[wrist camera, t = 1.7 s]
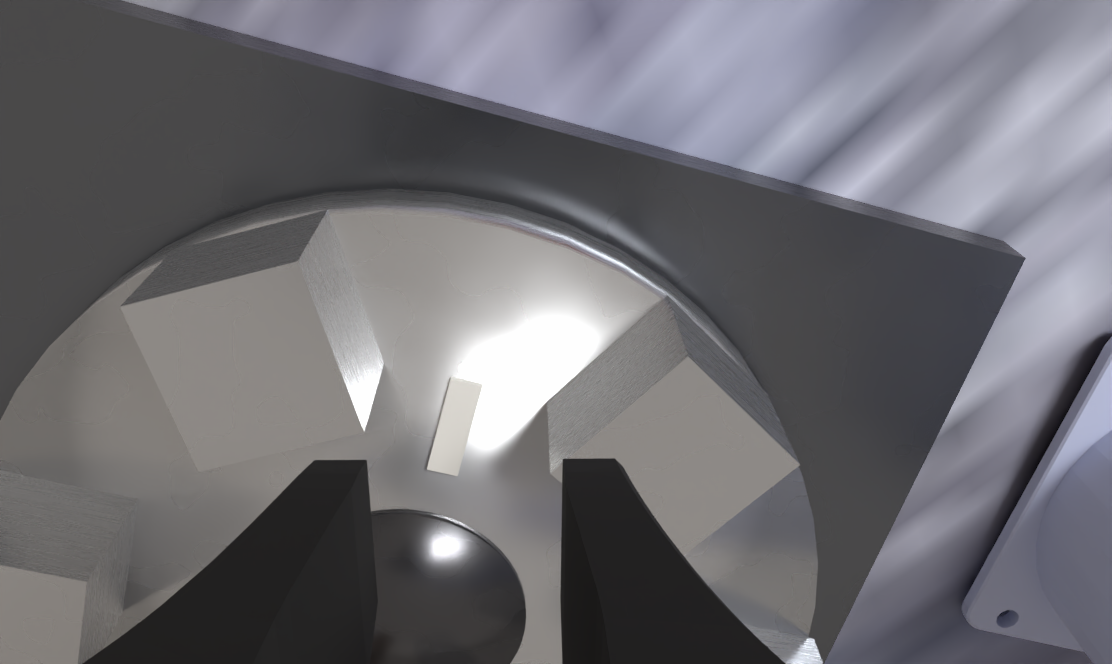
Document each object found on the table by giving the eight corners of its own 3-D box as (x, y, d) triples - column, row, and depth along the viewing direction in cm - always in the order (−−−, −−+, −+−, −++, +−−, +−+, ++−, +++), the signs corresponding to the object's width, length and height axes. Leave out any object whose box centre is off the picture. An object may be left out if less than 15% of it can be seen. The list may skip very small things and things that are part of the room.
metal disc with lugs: (927, 312, 20) (1017, 410, 16) (660, 885, 27) (681, 1046, 23) (36, 81, 18) (-92, 135, 14) (-12, 772, 24) (-106, 932, 21)
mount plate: (1003, 241, 21) (1030, 261, 19) (689, 890, 28) (695, 930, 27) (-16, -37, 18) (-52, -31, 17) (-53, 765, 26) (-79, 805, 25)
